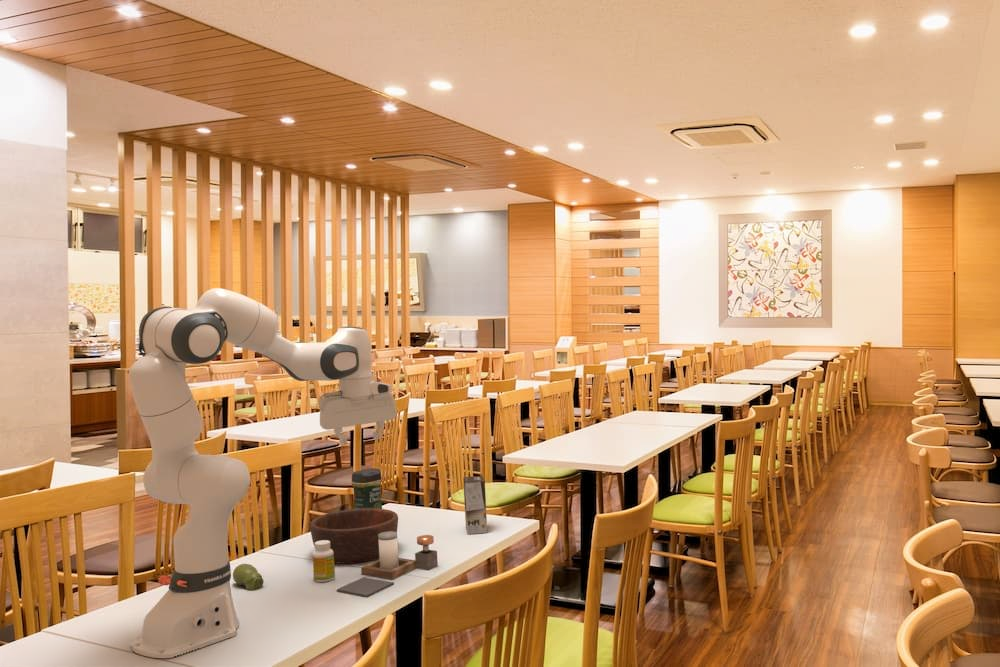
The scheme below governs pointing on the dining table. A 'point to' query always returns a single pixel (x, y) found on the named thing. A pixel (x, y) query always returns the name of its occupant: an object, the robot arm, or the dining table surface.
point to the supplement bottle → (323, 562)
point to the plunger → (425, 542)
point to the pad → (365, 587)
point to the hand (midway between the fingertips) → (360, 441)
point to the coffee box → (475, 504)
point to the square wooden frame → (402, 566)
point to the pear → (247, 576)
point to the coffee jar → (367, 488)
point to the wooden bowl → (354, 532)
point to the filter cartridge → (388, 550)
